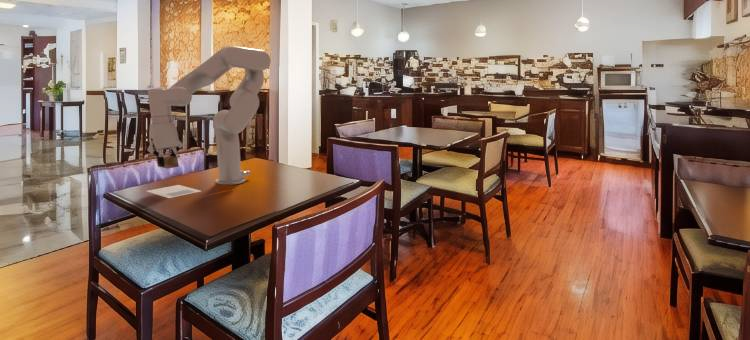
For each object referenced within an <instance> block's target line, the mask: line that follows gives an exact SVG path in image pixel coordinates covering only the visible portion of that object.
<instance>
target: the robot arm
mask: <svg viewBox="0 0 750 340" xmlns="http://www.w3.org/2000/svg"><path fill="white" fill-rule="evenodd" d="M270 65H271V56H270V55H269V53H268V52H266V51H265V50H263V49H256V48H248V47H242V46H235V45H232V46H230V45H229V46H226V47H225V46H224V47H222V48H220V49H218V51H217V52H215V53H214V54H213V55H211V56H210V57H209V58H208V59H207V60H205V61H204V62H202V63H201V64H200V65H198V66H197V67H196V68H194V69H193V70H192V71H190V72H189V73H187V74H186V75H184V76H183V77H182V78H180V79H179V80H178V81H176V82H175V83H174V84H172V85H171V86H170V87H169V88H163V87H161V88H159V87H157V88H149V89H148V91H147V95H148V96H147V97H148V102H149V110H150V118H151V123H150V124H149V128H148V129H149V133H148V134H149V135H148V136H149V139H148V140H149V145H148V147H147V149H146V150H147V151H148V152H149V153H152V154H153V155H155V157H156V161H157V160H158V164H159V166H162V167H161V168H163V167H164V159H163V157H162V156H163V150H166V149H169V152H170V156H176V157H177V154H178V152H179V151H180V150H181V148H182V147H183V146H184V144H183V143H182V141H181V140H180V139H179V138H180V137H179V134H178V129H177V127H176V124H175V122H173V121H174V120H175V119H176V116H175V115H173V114H172V106H173V107H175V106H176V107H185V106H188V105H189V104H190V103H191V101H192V98H193V94H194V93H196V92H197V91H199V90H200V89H203V88H205V87H208V86H211V85H213V84H214V83H216V82H217V81H218V80H219V79H220V78H221V77H223V76H224V75H225V74H226V73H228V72H229V71H230V70H231V69H232V68H238V69H244V77H243V78H242V80H241V82H240V83H239V84H238V86H237V87H236V89H235V90H234V92H233V93H232V94H231V96H230V98H229V105H230V109H229V110H228V109H221V110H220V111H218V112H217V113H215V115H214V117H213V121H212V122H213V130H214V135H215V142H216V155H217V156H216V157H217V169H218V171H217V172H218V178H216V179H215V180H214V182H215V184H218V185H227V186H233V185H239V184H243V183H245V182H246V178H245V177H246V176H249V175H251V171H250V170H245V171H244V170H242V163H241V148H240V145H241V144H240V137H239V134H240V133H241V132H243V131H244V130H245V128H247V126H248V125H249V123H250V121H251V120H252V119H253V117H254V115H256V113H257V112H258V109H259V107H260V99H259V96H258V95H259V92H260V91H261V89H262V88H263V86H264V81H265V74H264V71H265V70H267V69H268V68H269V67H270ZM158 164H157V165H158Z"/></svg>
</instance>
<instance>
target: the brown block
mask: <svg viewBox="0 0 750 340" xmlns="http://www.w3.org/2000/svg"><path fill="white" fill-rule="evenodd" d="M162 157H163V159H164V167H162V166H159V164H158V160H157V159H156V163H157V167H160V168H163V169H172V168H173V169H174V168H178V167H179V159H178V156H177V155H176V156H170V155H169V154H165V155H162Z"/></svg>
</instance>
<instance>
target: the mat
mask: <svg viewBox="0 0 750 340" xmlns="http://www.w3.org/2000/svg"><path fill="white" fill-rule="evenodd" d="M146 192H147V193H150V194H154V195H156V196H159V197H164V198H166V199H172V198H175V197H177V198H178V197H181V196H185V195H186V196H187V195H190V194H195V193H200V192H202V190H199V189H197V188H193V187H188V186H185V185H182V184H181V185H180V184H176V185H171V186H165V187H159V188H155V189H149V190H146Z"/></svg>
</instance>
